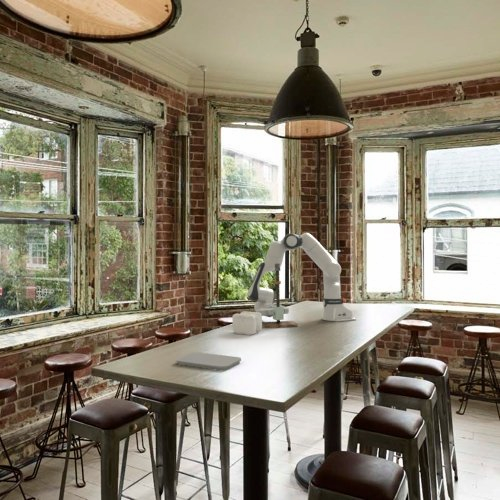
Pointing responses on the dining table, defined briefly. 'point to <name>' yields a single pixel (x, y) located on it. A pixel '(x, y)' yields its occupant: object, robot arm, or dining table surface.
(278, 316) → the sleeve
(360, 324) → the dining table surface
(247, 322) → the cable organizer
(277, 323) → the stand
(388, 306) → the dining table surface
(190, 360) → the tablet
